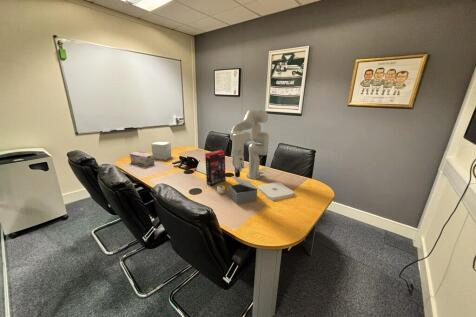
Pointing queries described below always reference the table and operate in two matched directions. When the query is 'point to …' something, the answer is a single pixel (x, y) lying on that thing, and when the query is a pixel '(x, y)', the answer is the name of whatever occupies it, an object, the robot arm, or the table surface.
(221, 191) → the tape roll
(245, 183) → the lid
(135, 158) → the surgical sutures box
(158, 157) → the supplement box
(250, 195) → the carton
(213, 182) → the graphics card box
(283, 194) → the computer
